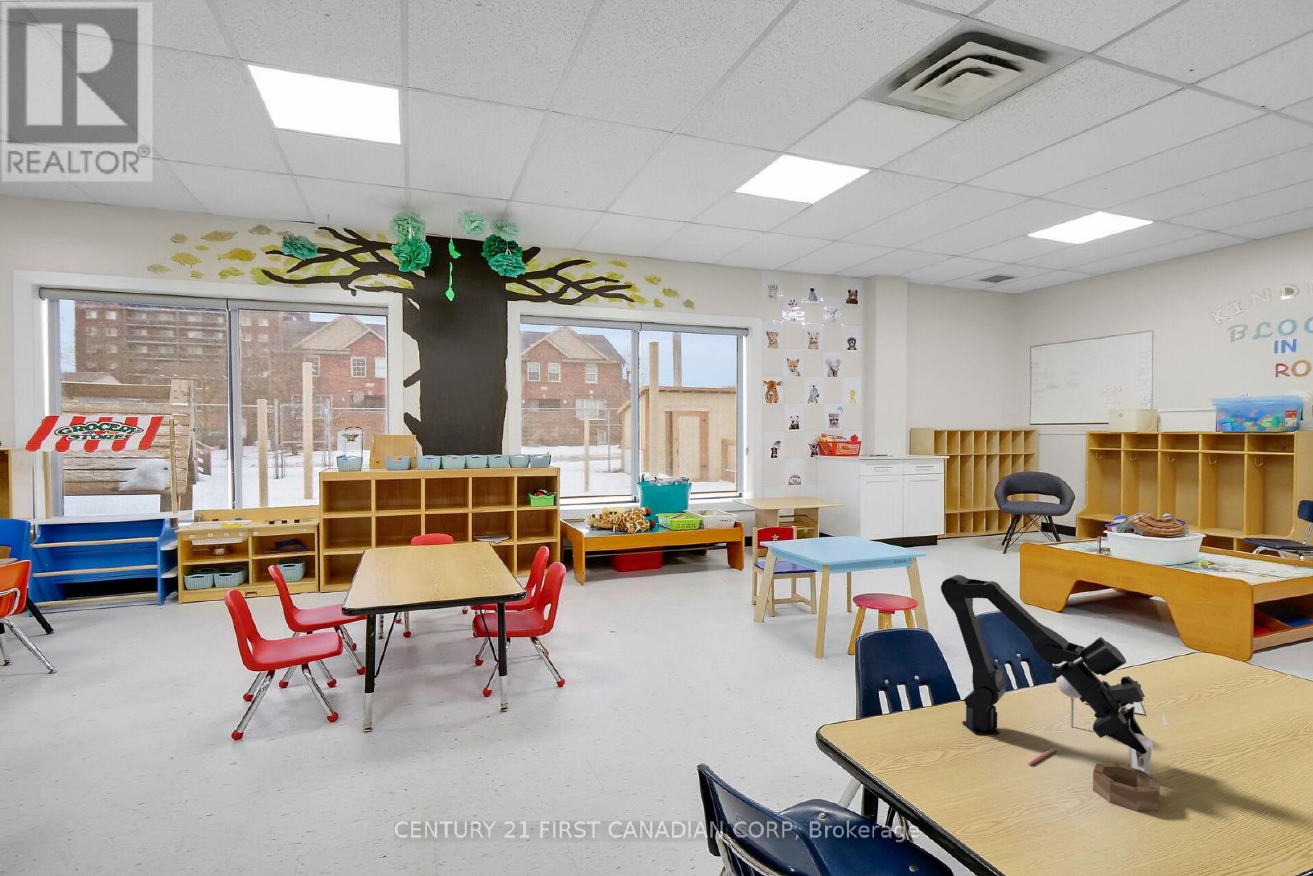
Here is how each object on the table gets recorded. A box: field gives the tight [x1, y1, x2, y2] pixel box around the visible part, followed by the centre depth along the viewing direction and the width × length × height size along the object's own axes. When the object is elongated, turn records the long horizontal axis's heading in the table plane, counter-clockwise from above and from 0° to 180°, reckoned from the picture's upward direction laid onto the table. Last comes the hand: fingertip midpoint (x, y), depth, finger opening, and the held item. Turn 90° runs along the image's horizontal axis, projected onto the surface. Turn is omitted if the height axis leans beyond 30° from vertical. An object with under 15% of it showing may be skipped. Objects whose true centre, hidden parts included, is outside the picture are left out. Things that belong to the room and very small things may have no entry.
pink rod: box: [1027, 747, 1057, 766], centre depth 150 cm, size 13×1×1 cm, turn 125°
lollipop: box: [1055, 675, 1081, 728], centre depth 166 cm, size 7×7×15 cm
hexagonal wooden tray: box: [1092, 762, 1161, 812], centre depth 134 cm, size 11×11×4 cm
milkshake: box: [1127, 733, 1154, 775], centre depth 142 cm, size 4×5×10 cm
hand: (1146, 749), depth 141 cm, fingers closed on milkshake, 4 cm apart
